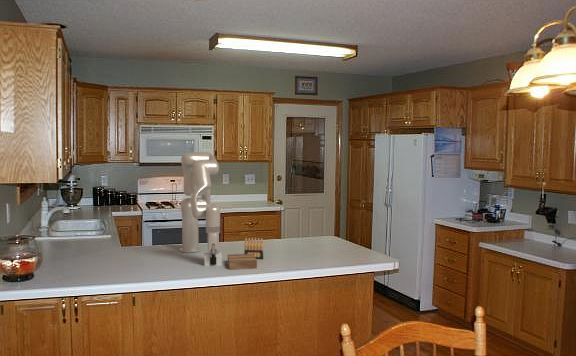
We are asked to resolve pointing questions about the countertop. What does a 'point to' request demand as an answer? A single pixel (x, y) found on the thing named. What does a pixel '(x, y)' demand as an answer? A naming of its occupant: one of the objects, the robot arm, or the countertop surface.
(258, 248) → the ammunition clip
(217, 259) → the block
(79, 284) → the countertop surface
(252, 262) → the walnut stand
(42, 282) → the countertop surface
